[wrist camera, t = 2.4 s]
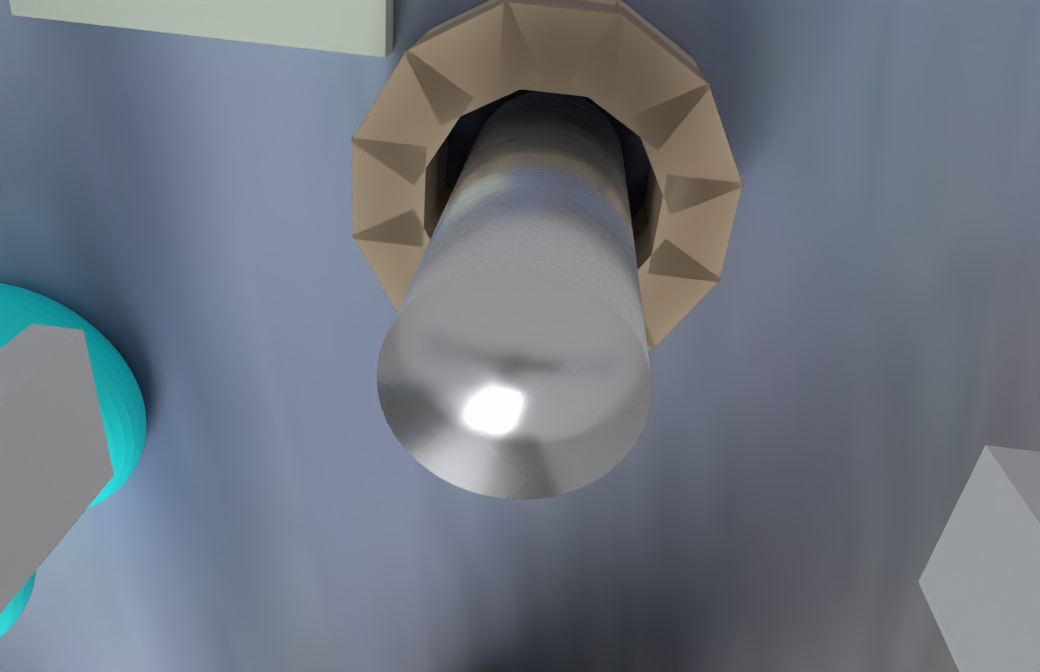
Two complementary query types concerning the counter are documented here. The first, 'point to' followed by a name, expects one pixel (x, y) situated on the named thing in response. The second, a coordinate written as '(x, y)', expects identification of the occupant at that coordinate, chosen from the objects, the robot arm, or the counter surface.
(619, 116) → the collar
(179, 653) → the counter surface
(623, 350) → the plug
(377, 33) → the board
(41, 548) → the robot arm
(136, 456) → the donuts
